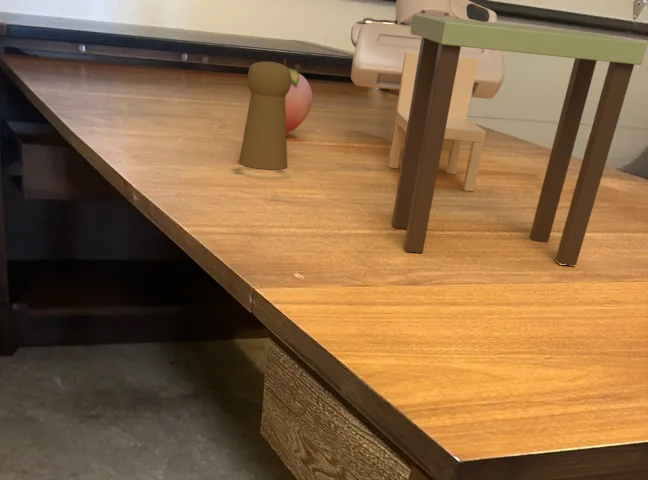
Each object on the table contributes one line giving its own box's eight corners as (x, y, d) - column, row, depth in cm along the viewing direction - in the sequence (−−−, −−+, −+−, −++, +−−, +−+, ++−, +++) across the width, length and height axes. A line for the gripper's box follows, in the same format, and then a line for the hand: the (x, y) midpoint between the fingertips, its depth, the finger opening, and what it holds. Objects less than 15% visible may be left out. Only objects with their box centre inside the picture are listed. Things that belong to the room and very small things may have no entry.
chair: (454, 172, 108) (476, 59, 101) (473, 191, 98) (500, 67, 91) (387, 165, 108) (405, 51, 101) (400, 184, 98) (420, 59, 91)
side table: (532, 225, 86) (581, 31, 76) (581, 269, 73) (648, 43, 63) (382, 211, 85) (413, 14, 75) (404, 254, 72) (444, 21, 62)
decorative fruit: (237, 130, 121) (241, 53, 115) (285, 131, 125) (292, 56, 119) (267, 143, 114) (273, 61, 109) (317, 143, 118) (325, 64, 112)
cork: (252, 157, 104) (259, 58, 98) (295, 165, 102) (304, 64, 96) (229, 163, 100) (235, 59, 94) (274, 171, 98) (282, 66, 92)
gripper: (355, -2, 107) (352, 90, 104) (508, 13, 108) (509, 105, 105) (348, 35, 113) (344, 124, 110) (493, 50, 114) (492, 137, 112)
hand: (426, 115), depth 108 cm, fingers closed
